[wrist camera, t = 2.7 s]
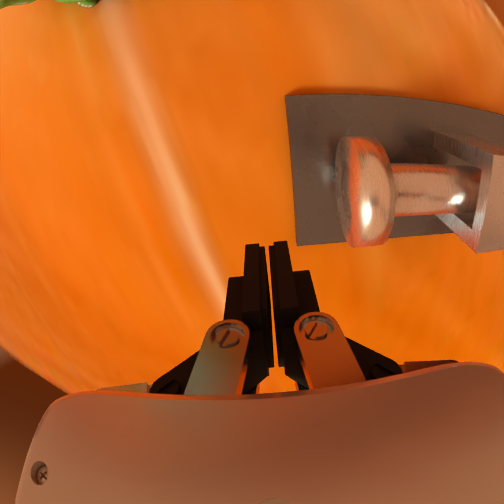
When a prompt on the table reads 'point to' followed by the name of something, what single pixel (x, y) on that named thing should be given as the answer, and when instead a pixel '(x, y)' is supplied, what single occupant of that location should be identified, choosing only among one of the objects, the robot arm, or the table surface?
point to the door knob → (394, 190)
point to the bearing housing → (395, 160)
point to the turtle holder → (83, 0)
